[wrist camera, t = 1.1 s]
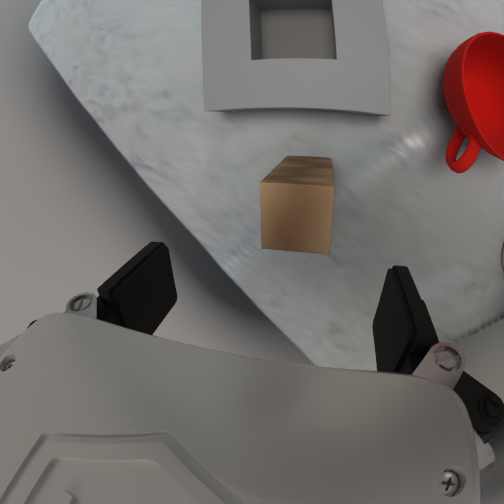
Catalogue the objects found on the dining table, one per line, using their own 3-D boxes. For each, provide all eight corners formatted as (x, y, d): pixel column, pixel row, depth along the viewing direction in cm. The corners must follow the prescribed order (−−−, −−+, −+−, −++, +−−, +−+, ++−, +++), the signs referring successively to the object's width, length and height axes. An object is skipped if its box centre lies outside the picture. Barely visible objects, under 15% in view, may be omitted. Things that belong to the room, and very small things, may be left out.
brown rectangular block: (330, 158, 29) (334, 186, 17) (329, 199, 32) (329, 254, 20) (287, 155, 30) (260, 182, 18) (287, 196, 33) (261, 248, 21)
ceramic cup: (387, 120, 25) (413, 122, 17) (452, 29, 17) (489, 7, 8) (460, 193, 26) (499, 223, 18) (518, 104, 17) (564, 110, 9)
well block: (368, -17, 17) (374, -37, 12) (379, 115, 25) (390, 115, 21) (219, -13, 21) (202, -30, 17) (223, 111, 30) (204, 111, 25)
